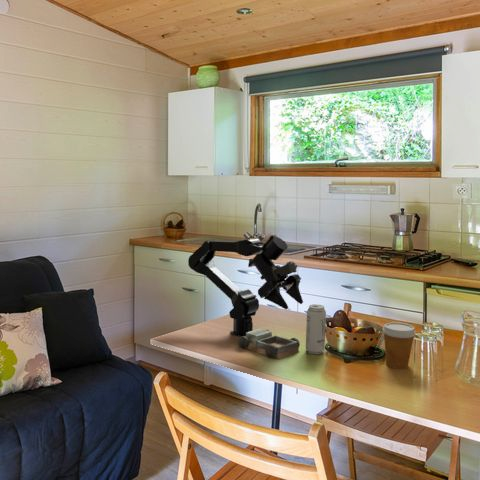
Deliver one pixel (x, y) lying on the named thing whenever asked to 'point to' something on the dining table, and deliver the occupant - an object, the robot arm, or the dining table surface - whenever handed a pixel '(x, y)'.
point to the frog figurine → (380, 340)
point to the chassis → (269, 343)
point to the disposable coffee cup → (398, 344)
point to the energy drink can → (315, 329)
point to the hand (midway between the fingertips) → (294, 305)
